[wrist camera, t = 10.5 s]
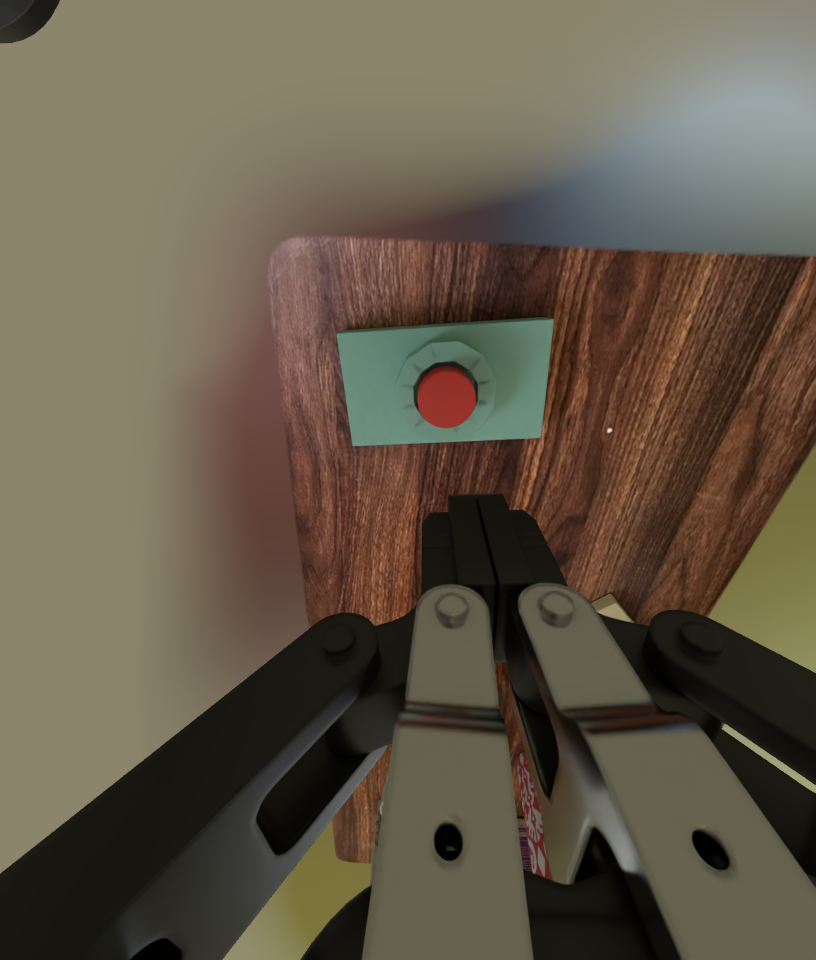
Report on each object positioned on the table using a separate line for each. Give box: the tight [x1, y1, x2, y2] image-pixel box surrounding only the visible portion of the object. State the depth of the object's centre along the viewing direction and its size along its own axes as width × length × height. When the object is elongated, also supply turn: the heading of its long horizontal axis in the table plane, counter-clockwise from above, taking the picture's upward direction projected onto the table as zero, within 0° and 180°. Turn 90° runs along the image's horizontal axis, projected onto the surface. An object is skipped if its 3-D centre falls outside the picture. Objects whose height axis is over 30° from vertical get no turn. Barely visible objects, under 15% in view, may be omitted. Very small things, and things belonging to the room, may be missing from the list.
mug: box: [516, 751, 552, 880], centre depth 43 cm, size 13×9×14 cm
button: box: [418, 366, 476, 428], centre depth 23 cm, size 4×4×2 cm
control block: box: [337, 317, 554, 446], centre depth 25 cm, size 14×8×4 cm, turn 94°
